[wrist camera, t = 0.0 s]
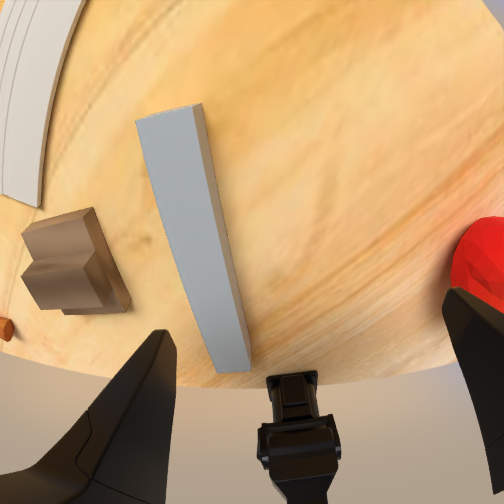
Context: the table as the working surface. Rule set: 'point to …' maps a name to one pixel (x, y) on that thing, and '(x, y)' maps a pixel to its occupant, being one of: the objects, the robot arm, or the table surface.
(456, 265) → the tomato
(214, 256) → the slate stick
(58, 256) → the ridge block
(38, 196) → the baseboard molding
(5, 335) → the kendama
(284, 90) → the table surface
